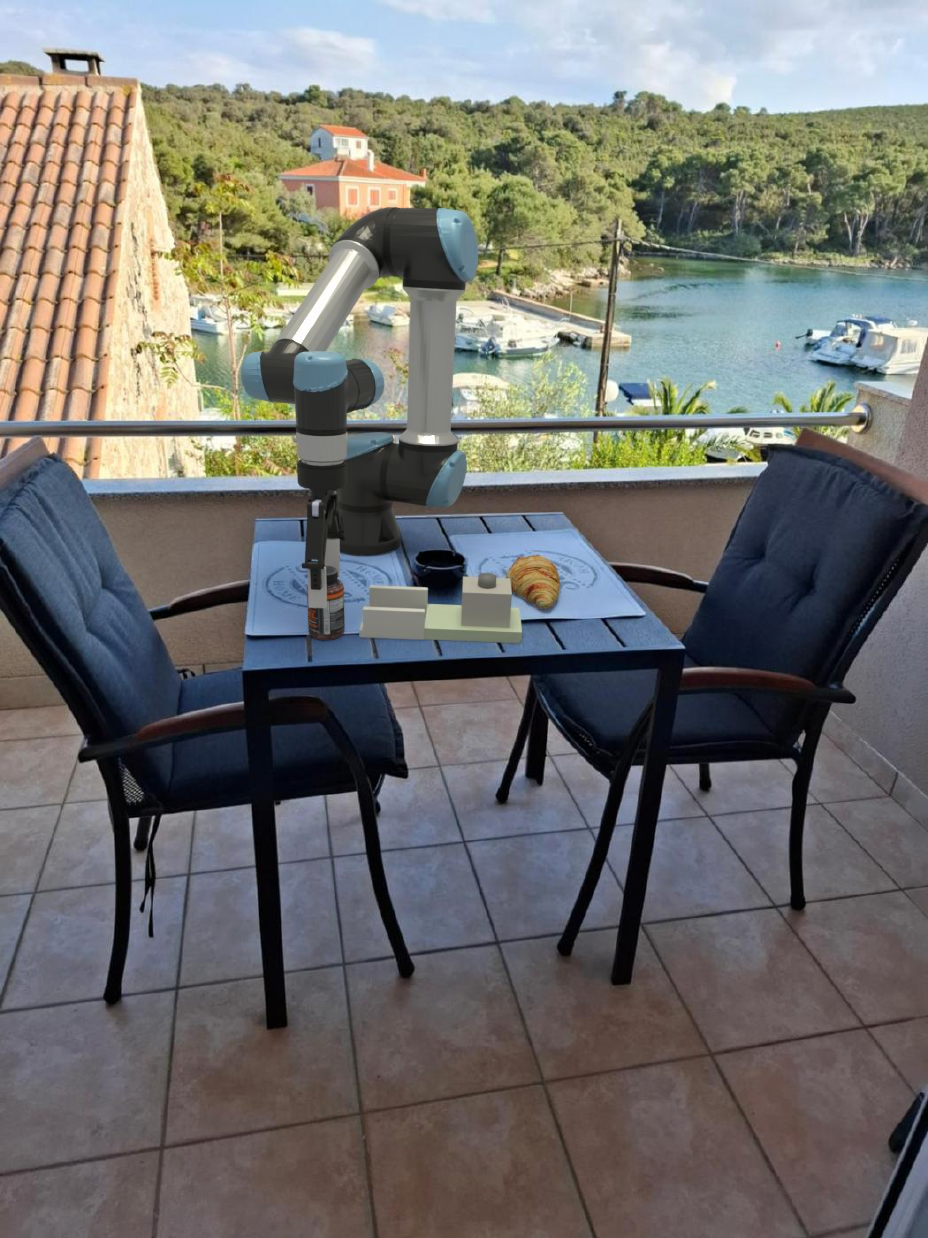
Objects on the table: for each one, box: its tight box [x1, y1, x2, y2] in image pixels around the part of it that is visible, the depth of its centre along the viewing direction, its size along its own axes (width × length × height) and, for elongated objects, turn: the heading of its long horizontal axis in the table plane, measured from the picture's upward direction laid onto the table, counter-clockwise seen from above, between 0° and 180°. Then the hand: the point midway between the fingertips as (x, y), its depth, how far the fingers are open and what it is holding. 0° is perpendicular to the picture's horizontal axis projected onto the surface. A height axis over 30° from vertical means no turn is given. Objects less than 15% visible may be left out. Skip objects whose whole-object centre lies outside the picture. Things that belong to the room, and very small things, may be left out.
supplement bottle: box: [306, 566, 346, 641], centre depth 135 cm, size 6×6×11 cm
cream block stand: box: [358, 572, 523, 644], centre depth 139 cm, size 10×27×10 cm, turn 89°
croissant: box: [505, 554, 561, 610], centre depth 157 cm, size 21×10×8 cm, turn 10°
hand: (325, 590), depth 134 cm, fingers open, 13 cm apart
